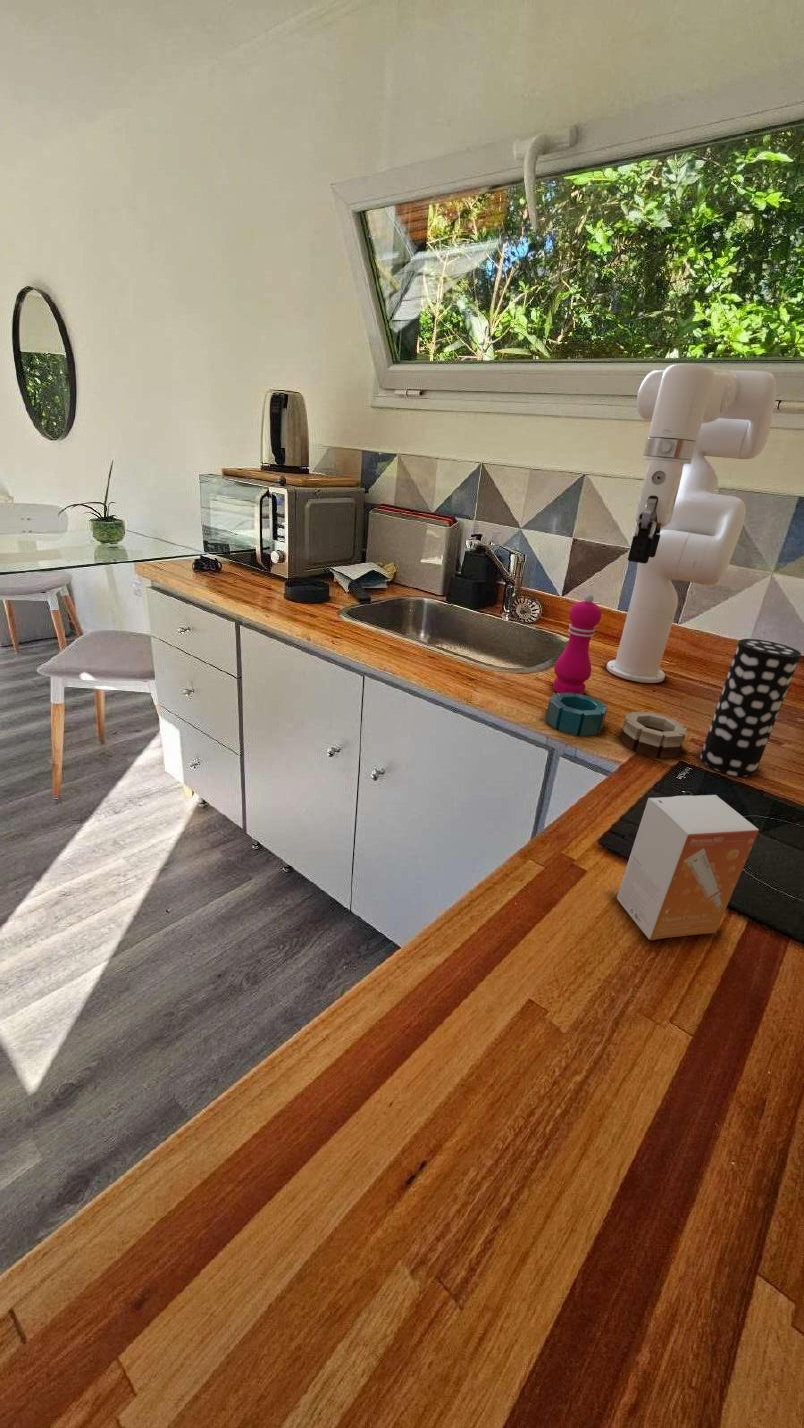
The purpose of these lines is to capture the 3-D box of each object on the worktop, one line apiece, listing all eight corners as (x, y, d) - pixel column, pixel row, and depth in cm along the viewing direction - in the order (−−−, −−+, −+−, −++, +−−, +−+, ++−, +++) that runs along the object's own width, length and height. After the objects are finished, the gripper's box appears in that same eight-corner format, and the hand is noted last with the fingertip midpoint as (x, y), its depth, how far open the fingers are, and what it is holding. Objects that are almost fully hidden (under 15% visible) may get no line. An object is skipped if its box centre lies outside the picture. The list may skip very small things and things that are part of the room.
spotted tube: (750, 758, 100) (793, 645, 92) (760, 781, 93) (808, 660, 84) (697, 747, 102) (734, 635, 94) (703, 768, 95) (744, 649, 87)
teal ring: (554, 708, 112) (558, 688, 111) (605, 721, 109) (611, 701, 107) (540, 725, 104) (544, 704, 103) (595, 740, 101) (600, 719, 99)
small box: (649, 943, 59) (687, 834, 53) (614, 898, 64) (646, 796, 59) (718, 934, 61) (761, 829, 55) (678, 892, 66) (714, 792, 61)
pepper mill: (587, 699, 118) (611, 600, 110) (550, 693, 119) (571, 595, 111) (584, 687, 124) (607, 592, 116) (549, 681, 125) (569, 587, 117)
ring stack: (625, 727, 107) (630, 706, 106) (681, 742, 103) (688, 721, 102) (615, 746, 99) (621, 725, 98) (676, 764, 96) (684, 741, 94)
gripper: (689, 452, 88) (658, 568, 95) (696, 456, 102) (669, 557, 109) (636, 447, 91) (610, 560, 98) (651, 452, 105) (627, 550, 112)
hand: (641, 558), depth 104 cm, fingers open, 9 cm apart
